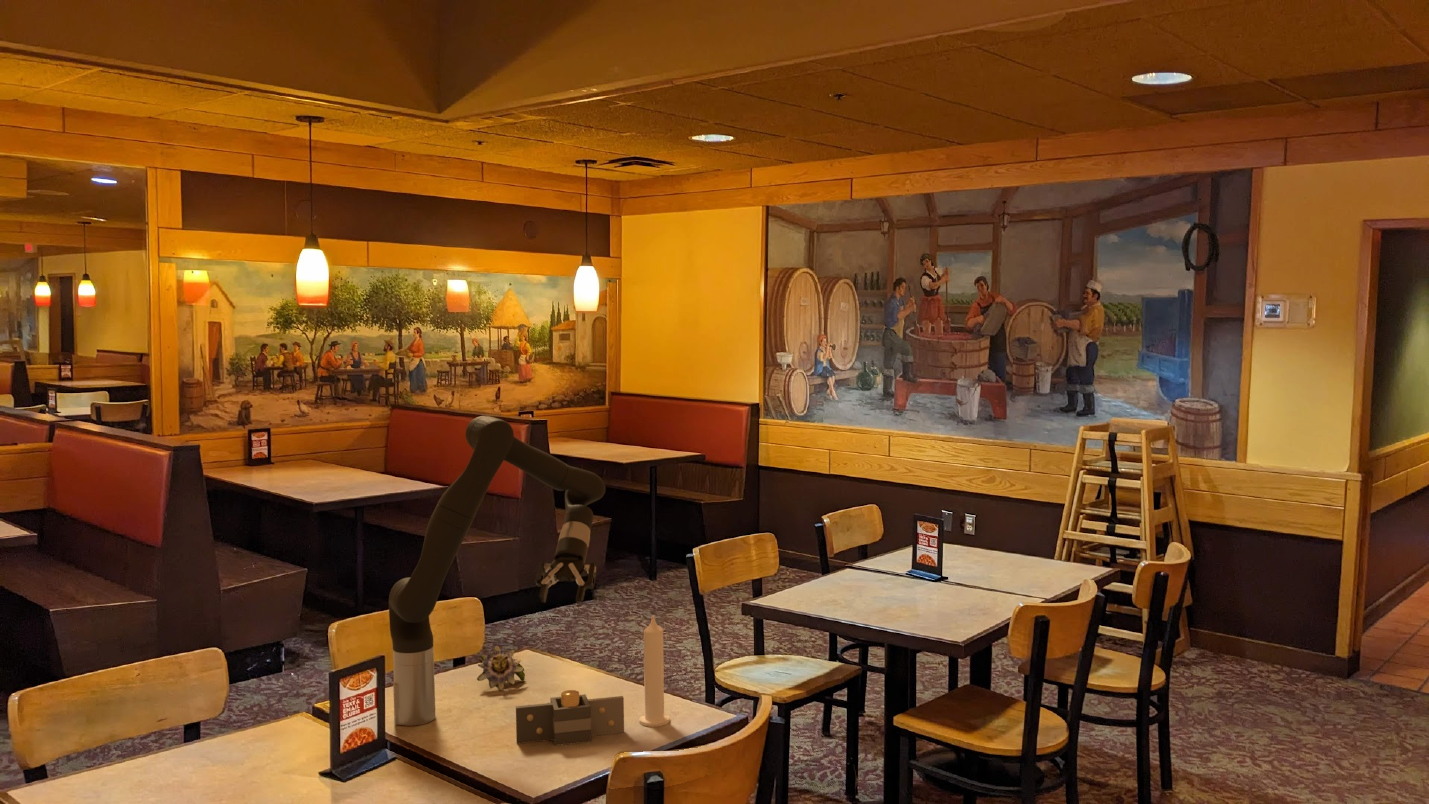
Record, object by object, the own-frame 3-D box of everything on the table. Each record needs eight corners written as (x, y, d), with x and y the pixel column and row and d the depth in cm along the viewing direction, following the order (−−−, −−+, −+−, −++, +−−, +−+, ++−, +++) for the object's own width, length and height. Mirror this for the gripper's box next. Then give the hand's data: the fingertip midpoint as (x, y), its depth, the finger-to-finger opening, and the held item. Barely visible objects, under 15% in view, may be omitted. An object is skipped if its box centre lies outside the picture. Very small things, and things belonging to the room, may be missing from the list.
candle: (675, 718, 251) (673, 613, 249) (660, 728, 244) (659, 621, 242) (648, 714, 254) (647, 610, 252) (633, 724, 247) (632, 618, 245)
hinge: (518, 749, 233) (517, 713, 232) (515, 735, 241) (514, 701, 240) (626, 737, 239) (626, 702, 239) (620, 724, 247) (620, 691, 246)
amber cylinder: (563, 740, 238) (562, 697, 237) (560, 734, 241) (560, 691, 241) (580, 739, 239) (580, 695, 238) (578, 732, 242) (577, 689, 242)
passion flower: (501, 710, 272) (476, 680, 266) (489, 690, 281) (464, 660, 276) (537, 681, 275) (512, 650, 269) (523, 662, 284) (500, 632, 278)
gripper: (542, 534, 262) (527, 592, 252) (598, 536, 260) (586, 594, 250) (548, 551, 268) (534, 608, 257) (603, 553, 266) (592, 610, 255)
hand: (560, 601), depth 253 cm, fingers open, 8 cm apart
